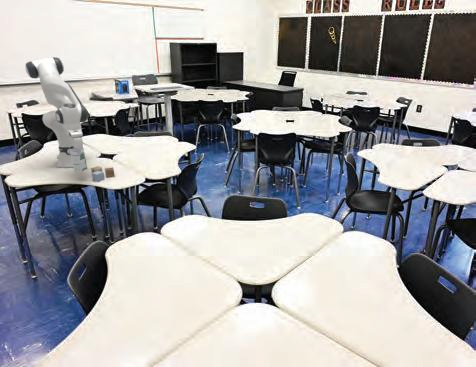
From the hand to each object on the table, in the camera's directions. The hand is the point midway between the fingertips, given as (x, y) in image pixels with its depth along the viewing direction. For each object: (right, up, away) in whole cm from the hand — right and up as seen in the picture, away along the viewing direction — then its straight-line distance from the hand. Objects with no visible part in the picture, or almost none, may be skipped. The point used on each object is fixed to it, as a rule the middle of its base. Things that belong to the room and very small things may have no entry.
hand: (77, 153), depth 217 cm
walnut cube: (+17, -14, +10) cm, 24 cm away
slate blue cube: (+12, -17, +4) cm, 21 cm away
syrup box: (0, -11, +4) cm, 12 cm away
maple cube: (+7, -13, +13) cm, 20 cm away
